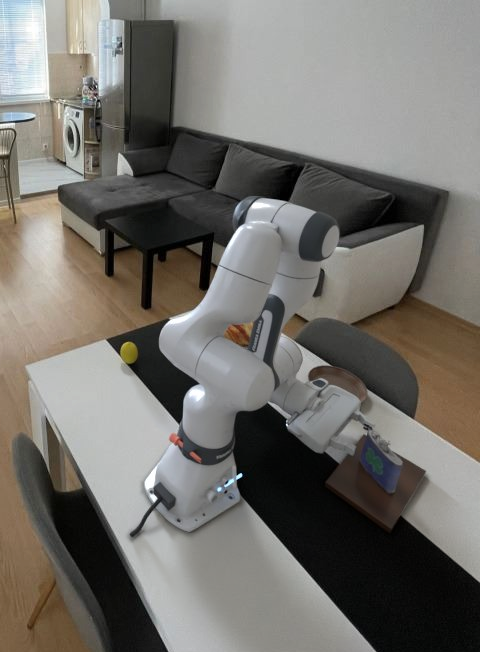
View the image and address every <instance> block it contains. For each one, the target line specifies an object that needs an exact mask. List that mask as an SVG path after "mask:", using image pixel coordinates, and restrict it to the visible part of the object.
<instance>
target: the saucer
mask: <svg viewBox="0 0 480 652" xmlns="http://www.w3.org/2000/svg"><path fill="white" fill-rule="evenodd" d="M320 378H322V379H325V380H326V381H328V385H334V386H337V387H340V388H342V389H344V390H346V391H347V392H349V393H351V394H353V395H355V396H356V397H357V398H358V399H359V400H360V401H361V404H362V403H363V402H365V401H366V400H367V398H368V395H369V393H368V389H367V387H366V384H365V383H364V381H362V380H361V379H360V378H359V377H358V376H356V375H355V374H354V373H352V372H350V371H348V370H346V369H344V368H342V367H338V366H333V365H326V364H324V365H317V366H314V367H311V369H310V370H309V371H308V374H307V380H308V382H310V381H314V380H317V379H320Z"/></svg>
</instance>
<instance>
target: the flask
mask: <svg viewBox="0 0 480 652" xmlns="http://www.w3.org/2000/svg"><path fill="white" fill-rule="evenodd" d="M390 446H391V441H390V440H387V441H386V439H384V438H382V436H381V434H379V433H378V432H377V431H375V430H369V431H367V432H366V439H365V443H364V446H363V449H362V453H361V456H360V462H361V464H362V465H363V467H364V468H365V470H366V472H367V473H368V474H369V475H370V476H371V477H372V479H373V480H374V481H375V482H376V483H377V484H378V485H379V486H380V488H382V489H383V490H384V491H385V492H387V493H389V494H391V493H394V492H395V489H396V485H397V481H398V478H399V475H400V472H401V469H402V467H403V461H402V460H401V459H400V458H399V457H398V456H397V455H396V454H394V452H395V451H394V450H392V449H391V448H390ZM390 492H391V493H390Z"/></svg>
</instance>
